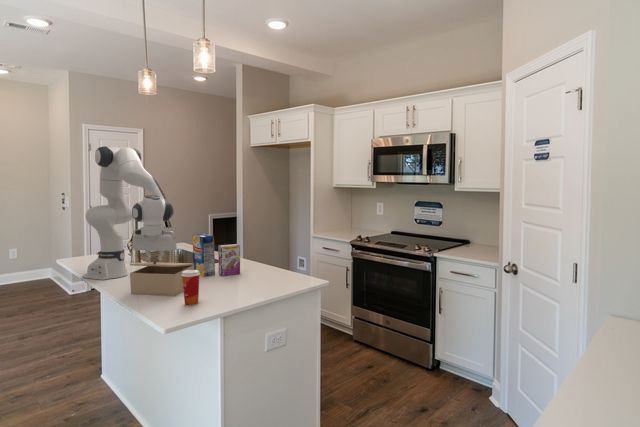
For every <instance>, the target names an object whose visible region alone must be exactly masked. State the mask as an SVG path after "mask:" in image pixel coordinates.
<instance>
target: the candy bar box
mask: <svg viewBox="0 0 640 427" xmlns="http://www.w3.org/2000/svg"><path fill="white" fill-rule="evenodd" d="M217 248H218V252H217V254H218V275H219V276H221V277H226V276H233V275H240V274H241V245H240V244H237V243H235V244H223V245H222V244H221V245H218V247H217Z"/></svg>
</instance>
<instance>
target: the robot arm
mask: <svg viewBox="0 0 640 427" xmlns="http://www.w3.org/2000/svg"><path fill="white" fill-rule="evenodd" d="M94 160H95V161H94V162H96V164H97V165H98V166H99V167H100V172H99V193H100V196H102V197H103V198H106V200H107V204H105V205H96V206H92V207H90V208H88V209H87V211H86V213H85V221H86V222H87V223H88V225H90V226H91V227H92V228H94V229H95V231H96V232H97V234H98V237H99V244H100V251H98V252H97V253H95V255H96V256H97V255H98V256H97V258H96V259H95V260H93V261H92V262H91V263H90V264H89V265H88V266H87V271H86V273H84V274H83V275H82V278H83V279H92V280H101V281H103V280H109V279H110V280H111V279H116V278H117V279H118V278H122V277H127V276H128V274H129V273H128V271H127V267H126V263H125V262H126V261H125V257H126V256H125V249H124V238H123V237H124V236H123V234H121V233H120V232H119V231H116V229H115V227H114V226H115V225H122V224H126V223H128V222H131V221H132V220H133V219H134V220H135V221H136V222H138V223H143V227H140V228H137V229H133V232H132V234H133V237H132V243H131V244H132V245H131V246H132V249H133V250H134V251H145V254H146V256H147V261H150V260H151V256H152V254H151V251H153V252H159V255H157V256H158V257H157V258H158V259H157V260H159V261H162V260H163V256H164V254H165V252H174V251H176V250H177V240H176V239H177V238H176V237H177V236H176V233H175V232H174V231H172V230H165V222H168V221H170V219H172V216H174V208H173V205H172V204H171V202H170V201H169V200H168V198H167V197H166V195H165V193H164V191H163V190H162V188H161V187H160V186H161V185H159V183H158V181H157V180H156V178H155V177H154V175H152V174H150V173H149V172H148V171H147V170H146V169H145V168H144V166H143V163H142V154H141V152H140V150H139V149H136V148H133V147H129V146H99V147H97V148H96V150H95V153H94ZM124 182H125V183H126V184H129V185H130V186H134V187H138V188H142V189H145V190H146V191H148V192H149V193H150V194H147V195H145V196H144V197H143V199H142V200H141V201H139V202H136V203H135V204H133V206H131V205H129V203H127V201H126V199H125V197H124V196H125V195H124V188H123V187H124Z"/></svg>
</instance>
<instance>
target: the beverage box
mask: <svg viewBox="0 0 640 427" xmlns="http://www.w3.org/2000/svg"><path fill="white" fill-rule="evenodd" d="M191 235H192V259H193V260H192V263H194V270H198V271H199V273H200V275H199V277H203V278H208V277H211V276H215V275H216V263H215V261H216V259H215V235H213V234H207V233H198V234H191Z"/></svg>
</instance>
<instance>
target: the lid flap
mask: <svg viewBox="0 0 640 427" xmlns="http://www.w3.org/2000/svg"><path fill="white" fill-rule="evenodd" d="M158 256H159V255H151V260H149V261H150V262H149V261H148V262H137V263H136V262H135V263H130V264H129V265H130V266H135V267H138V266H139V267H146V266H163V267H179V266H188V265H194V263H193V262H192V263H189V262H188V263H187V262H160V260H157V259H158V258H157V257H158Z"/></svg>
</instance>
